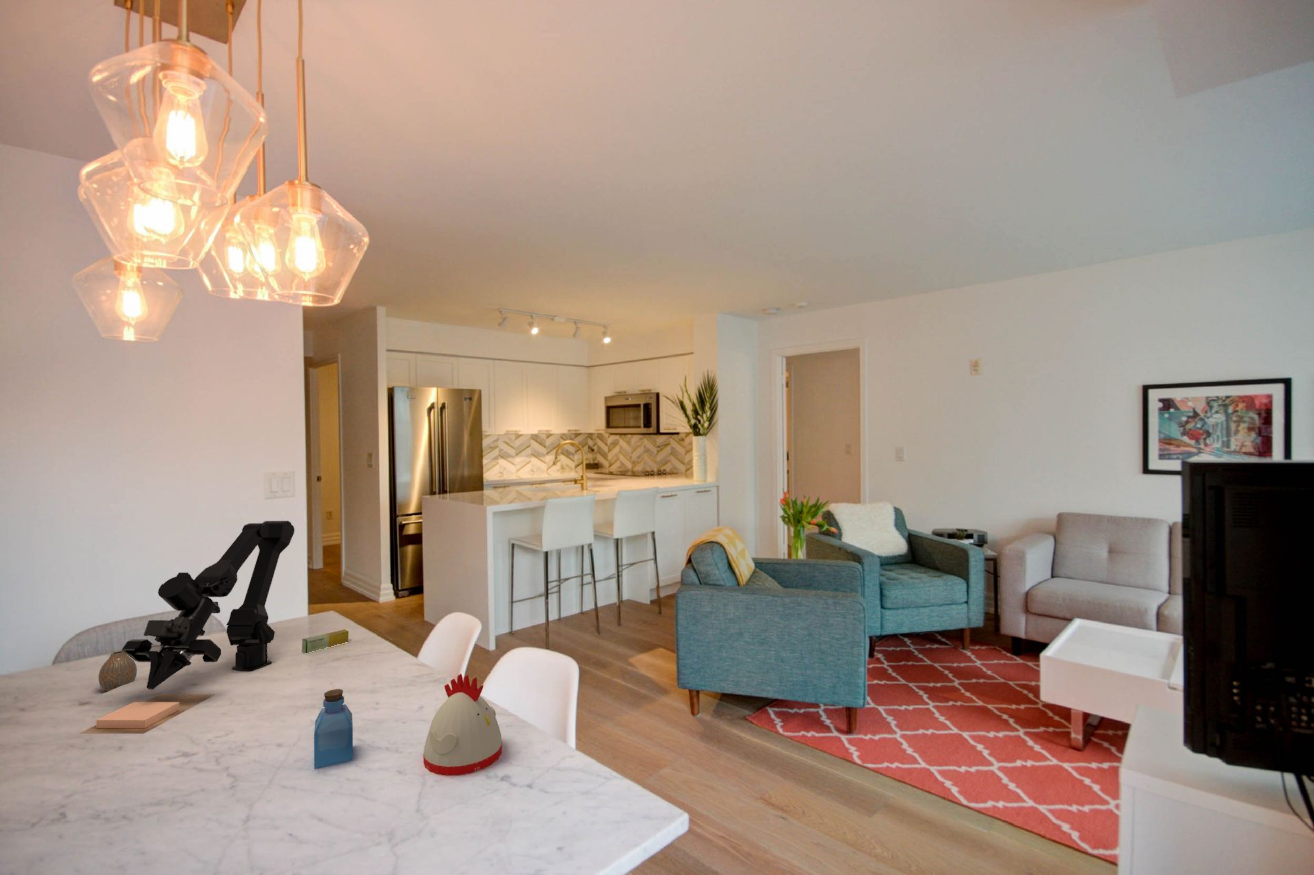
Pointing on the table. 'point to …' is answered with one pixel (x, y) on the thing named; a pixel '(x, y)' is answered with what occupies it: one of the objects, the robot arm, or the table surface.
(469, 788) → the table surface
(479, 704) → the kitchen timer
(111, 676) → the vase
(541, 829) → the table surface
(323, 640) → the medication box
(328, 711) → the perfume bottle
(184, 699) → the board
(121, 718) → the tile
